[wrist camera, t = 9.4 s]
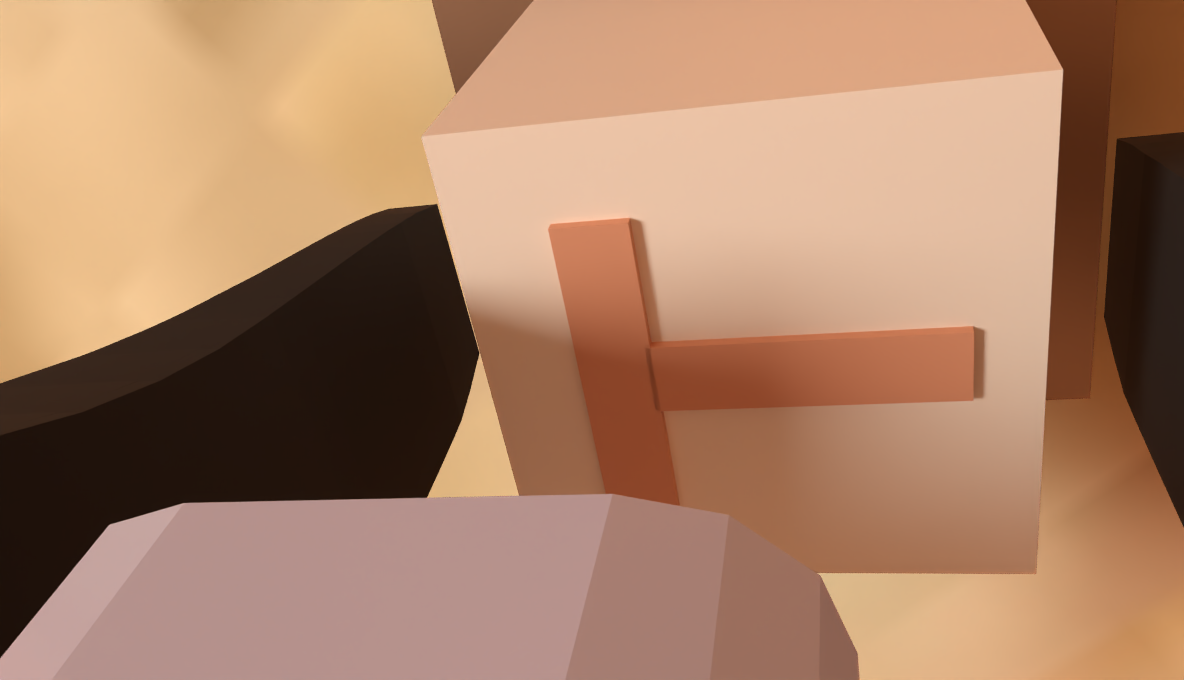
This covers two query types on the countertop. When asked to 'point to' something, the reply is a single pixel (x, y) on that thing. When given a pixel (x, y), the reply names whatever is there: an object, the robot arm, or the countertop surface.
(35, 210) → the countertop surface
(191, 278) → the countertop surface
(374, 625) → the robot arm
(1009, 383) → the letter cube
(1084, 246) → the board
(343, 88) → the countertop surface
